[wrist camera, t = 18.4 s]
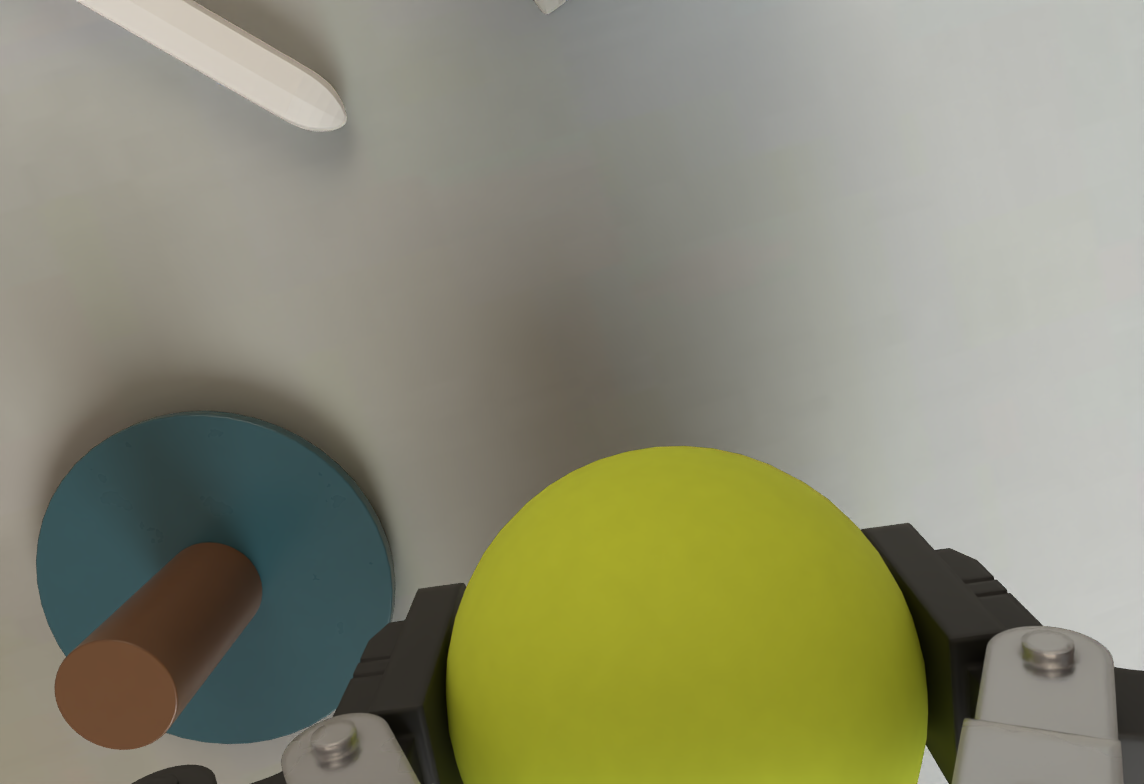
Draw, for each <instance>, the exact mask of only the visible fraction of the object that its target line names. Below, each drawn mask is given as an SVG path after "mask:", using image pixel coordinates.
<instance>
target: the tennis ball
mask: <svg viewBox="0 0 1144 784" xmlns="http://www.w3.org/2000/svg"><path fill="white" fill-rule="evenodd" d="M446 702H447V714H448V726H449V734H450V739H451V743H452V747H453V751H454V755H455V760H456V763H457V766H458V769H459V772H460V776H461V779H462V781H463V784H917V782H918V777H919V773H920V768H921V764H922V759H923V754H924V749H925V744H926V739H927V723H928V692H927V682H926V671H925V663H924V659H923V655H922V651H921V647H920V643H919V639H918V635H917V632H916V628H915V624H914V621H913V618H912V615H911V613H910V610H909V608H908V606H907V603H906V601H905V598H904V596H903V594H902V591H901V590H900V588H899V586H898V584H897V583H896V581H895V579H894V577H893V576H892V574H891V572H890V571H889V569H888V567H887V566H886V564H885V562H884V561H883V559H882V557H881V556H880V554H879V552H878V551H877V550H876V549H875V547H874V546H873V545H872V544H871V542H870V541H869V540H868V539H867V538H866V536H865V535H864V534H863V533H862V531H861V530H860V529H859V528H858V527H857V526H856V525H855V524H854V523H853V522H852V521H851V520H850V519H849V518H848V517H847V516H846V515H845V514H844V513H843V512H841V511H840V510H839V509H838V508H837V507H836V506H835V505H834V504H833V503H832V502H831V501H829V500H828V499H827V498H826V497H824V496H823V495H821V494H820V493H818V492H817V491H816V490H814V489H813V488H811V487H810V486H808V485H807V484H806V483H804V482H802V481H800V480H798V479H796V478H794V477H793V476H791V475H789V474H787V473H785V472H783V471H781V470H779V469H777V468H775V467H773V466H771V465H769V464H766V463H764V462H761V461H758V460H755V459H752V458H750V457H747V456H744V455H741V454H736V453H732V452H727V451H723V450H718V449H713V448H702V447H691V446H668V447H652V448H646V449H640V450H634V451H627V452H624V453H620V454H617V455H613V456H610V457H607V458H603V459H600V460H597V461H595V462H593V463H590V464H588V465H586V466H584V467H581V468H579V469H577V470H574V471H572V472H571V473H569V474H567V475H566V476H564V477H562V478H561V479H559V480H557V481H556V482H554V483H552V484H551V485H549V486H548V487H546V488H545V489H544V490H543V491H541V492H540V493H539V494H538V495H536V496H535V497H534V498H533V499H531V500H530V501H529V502H527V503H526V504H525V505H524V506H523V508H522V509H521V510H520V511H519V512H518V513H517V514H516V515H515V516H514V517H513V518H512V519H511V520H510V521H509V522H508V523H507V524H506V525H505V526H504V527H503V528H502V529H501V530H500V532H499V533H498V535H497V536H496V537H495V539H494V540H493V541H492V543H491V544H490V546H489V547H488V548H487V550H486V551H485V552H484V554H483V556H482V558H481V560H480V562H479V563H478V565H477V567H476V569H475V571H474V573H473V575H472V577H471V579H470V581H469V583H468V585H467V587H466V589H465V592H464V595H463V597H462V600H461V603H460V606H459V608H458V611H457V614H456V617H455V621H454V626H453V631H452V636H451V641H450V646H449V652H448V657H447V670H446Z"/></svg>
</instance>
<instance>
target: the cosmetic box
mask: <svg viewBox="0 0 1144 784" xmlns="http://www.w3.org/2000/svg"><path fill="white" fill-rule="evenodd" d="M533 1H534V2H535V3H536V5H537V6H538V7H539V8H540V10H541V11H542V12H543V13H544V14H547V15H548V14H550V13H551V12H553V11H554V10H555V9H557V8H558V7H559V6H561V5H562V4H563V3H565V2H566V1H567V0H533Z"/></svg>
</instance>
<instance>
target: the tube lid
mask: <svg viewBox="0 0 1144 784" xmlns="http://www.w3.org/2000/svg"><path fill="white" fill-rule="evenodd" d="M36 568H37V584H38V589H39V594H40V599H41V604H42V607H43V610H44V613H45V616H46V619H47V622H48V625H49V627H50V629H51V631H52V633H53V635H54V637H55V639H56V641H57V643H58V645H59V647H60V648H61V650H62V651H63V653H64V654H65V656H66V658H65V659H64V660H63V662H62V664H61V665H60V667H59V669H58V672H57V675H56V679H55V697H56V702H57V705H58V708H59V710H60V712H61V714H62V716H63V717H64V719H65V720H66V722H67V723H68V724H69V725H70V726H71V728H72V729H74V730H75V731H76V732H77V733H78V734H79V735H81V736H82V737H83V738H85V739H87V740H89V741H90V742H92V743H95V744H97V745H100V746H103V747H106V748H111V749H119V750H127V749H135V748H140V747H143V746H146V745H148V744H151V743H153V742H154V741H156V740H158V739H159V738H160V737H161V736H163V735H164V734H165V733H169V734H172V735H175V736H178V737H181V738H186V739H191V740H196V741H201V742H208V743H221V744H241V743H253V742H260V741H266V740H272V739H275V738H279V737H282V736H286V735H289V734H292V733H295V732H297V731H299V730H302V729H304V728H306V727H309V726H311V725H313V724H314V723H316V722H318V721H319V720H321V719H323V718H325V717H326V716H328V715H330V714H331V713H332V712H333V711H335V710H336V709H337V707H338V705H339V703H340V701H341V698H342V696H343V694H344V692H345V690H346V688H347V686H348V684H349V681H350V679H352V678H353V673H354V671H355V669H356V667H357V665H358V663H360V658H361V656H362V654H363V652H364V650H365V648H366V645H367V643H368V641H369V640H370V639H371V638H372V637H373V636H375V635H376V634H377V633H378V632H379V631H380V630H381V629H382V628H384V627H385V626H386V625H387V624H388V623H390V622H392V616H393V611H394V605H395V576H394V566H393V560H392V556H391V552H390V548H389V544H388V541H387V538H386V535H385V533H384V530H383V528H382V525H381V523H380V520H379V519H378V517H377V515H376V513H375V511H374V509H373V508H372V506H371V504H370V502H369V501H368V499H367V498H366V496H365V495H364V494H363V492H362V491H361V490H360V488H359V487H358V485H357V484H356V483H355V482H354V481H353V479H352V478H351V477H350V476H349V475H348V474H347V473H346V472H345V471H344V470H343V469H342V468H341V467H340V466H339V465H338V464H337V463H336V462H335V461H333V460H332V459H331V458H330V457H329V456H327V455H326V454H325V453H324V452H323V451H321V450H320V449H319V448H317V447H315V446H314V445H312V444H311V443H309V442H308V441H306V440H305V439H303V438H302V437H300V436H298V435H296V434H294V433H292V432H290V431H288V430H285V429H283V428H281V427H279V426H277V425H274V424H271V423H268V422H265V421H262V420H259V419H257V418H253V417H248V416H243V415H239V414H234V413H227V412H215V411H191V412H179V413H174V414H168V415H162V416H158V417H155V418H152V419H149V420H145V421H142V422H139V423H137V424H135V425H132V426H130V427H128V428H126V429H124V430H122V431H120V432H118V433H116V434H114V435H112V436H110V437H109V438H107V439H106V440H104V441H103V442H101V443H100V444H98V445H97V446H95V447H94V448H92V449H91V450H90V451H89V452H88V453H87V454H86V455H85V456H84V457H83V458H81V459H80V460H79V461H78V462H77V463H76V464H75V465H74V466H73V468H72V469H71V470H70V471H69V473H68V474H67V475H66V476H65V477H64V479H63V480H62V481H61V483H60V485H59V487H58V488H57V490H56V492H55V493H54V495H53V497H52V498H51V501H50V503H49V506H48V508H47V510H46V513H45V515H44V518H43V521H42V525H41V530H40V534H39V538H38V546H37V557H36Z"/></svg>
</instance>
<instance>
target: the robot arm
mask: <svg viewBox="0 0 1144 784" xmlns="http://www.w3.org/2000/svg"><path fill="white" fill-rule="evenodd" d="M861 531H862V533H863V534H864V535H865V536H866V538H867V539H868V540H869V541H870V542H871V544H872V545H873V546H874V547H875V549H876V550H877V551H878V552H879V554H880V556H881V557H882V559H883V561H884V562H885V564H886V566H887V567H888V569H889V571H890V572H891V574H892V576H893V577H894V579H895V581H896V583H897V584H898V586H899V588H900V590H901V591H902V594H903V596H904V598H905V601H906V603H907V606H908V608H909V610H910V613H911V615H912V618H913V621H914V624H915V628H916V632H917V635H918V639H919V643H920V647H921V651H922V655H923V659H924V663H925V671H926V682H927V692H928V723H927V739H926V746H927V747H928V749H929V751H930V753H931V754H932V756H933V758H934V759H935V761H936V763H937V764H938V766H939V768H940V770H941V771H942V773H943V775H944V776H945V778H946V780H947V781H948V783H949V784H1144V671H1139V670H1129V669H1123V668H1117V667H1114V662H1113V658H1112V655H1111V654H1110V652H1109V651H1108V650H1107V649H1106V648H1105V647H1104V646H1103V645H1102V644H1101V643H1099V642H1098V641H1096V640H1094V639H1092V638H1090V637H1088V636H1086V635H1084V634H1081V633H1078V632H1075V631H1071V630H1067V629H1063V628H1057V627H1049V626H1043V625H1042V624H1041V623H1040V622H1039V621H1038V620H1037V619H1036V618H1035V617H1034V616H1033V615H1032V614H1031V613H1030V612H1029V611H1028V610H1027V609H1026V608H1025V607H1024V606H1023V605H1022V604H1021V603H1020V602H1019V601H1018V600H1017V599H1016V598H1015V597H1014V596H1013V595H1012V594H1011V593H1007V589H1006V588H1005V587H1004V586H1003V585H1002V584H1001V583H1000V582H999V581H998V580H994V576H992V575H991V574H990V573H989V572H988V571H987V570H986V569H985V568H984V567H983V566H982V565H981V564H980V563H979V562H978V561H977V560H975V559H973V558H971V557H969V556H966V555H964V554H962V553H960V552H957V551H955V550H953V549H950V548H947V549H939V550H934V549H933V548H932V547H931V546H930V545H929V544H928V543H927V541H926V540H925V539H924V538H923V537H922V536H921V535H920V534H919V533H918V532H917V531H916V529H915V528H914V527H913V526H912V525H911V524H909V523H904V524H896V525H889V526H882V527H874V528H867V529H861ZM465 589H466V586H465V584H464V583H457V584H450V585H443V586H435V587H428V588H421V589H418V591H417V593H416V595H415V598H414V600H413V603H412V605H411V607H410V610H409V612H408V615H407V617H406V619H405V621H397V622H390V623H388V624H387V625H386V626H385V627H384V628H382V629H381V630H380V631H379V632H378V633H377V634H376V635H375V636H373V637H372V638H371V639H370V640H369V641H368V643H367V645H366V648H365V650H364V652H363V654H362V656H361V658H360V663H358V665H357V667H356V669H355V671H354V673H353V678H352V679H350V681H349V684H348V686H347V688H346V690H345V692H344V694H343V696H342V698H341V701H340V703H339V705H338V707H337V709H336V711H335V713H334V715H333V717H332V718H329V719H326V720H324V721H322V722H319V723H317V724H315V725H313V726H311V727H310V728H308V729H306V730H305V731H303V732H302V733H301V734H299V735H298V736H297V737H296V738H294V739H293V741H292V742H291V743H290V744H289V745H288V746H287V748H286V749H285V751H284V753H283V755H282V759H281V765H282V770H283V771H282V772H280V773H278V774H276V775H273V776H271V777H268V778H266V779H263V780H260V781H257V782H254V783H251V784H463V781H462V779H461V776H460V772H459V769H458V766H457V763H456V760H455V755H454V751H453V747H452V743H451V739H450V734H449V726H448V714H447V702H446V670H447V657H448V652H449V646H450V641H451V636H452V631H453V626H454V621H455V617H456V614H457V611H458V608H459V606H460V603H461V600H462V597H463V595H464V592H465ZM132 784H217V781H216V778H215V775H214V773H213V772H212V771H211V770H210V769H208V768H206V767H203V766H199V765H181V766H175V767H171V768H167V769H163V770H160V771H157V772H155V773H152V774H150V775H147V776H145V777H143V778H141V779H139V780H137V781H136V782H134V783H132Z"/></svg>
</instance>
